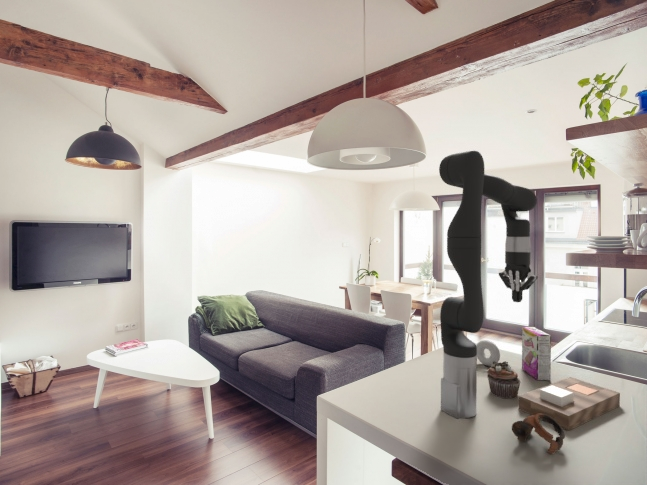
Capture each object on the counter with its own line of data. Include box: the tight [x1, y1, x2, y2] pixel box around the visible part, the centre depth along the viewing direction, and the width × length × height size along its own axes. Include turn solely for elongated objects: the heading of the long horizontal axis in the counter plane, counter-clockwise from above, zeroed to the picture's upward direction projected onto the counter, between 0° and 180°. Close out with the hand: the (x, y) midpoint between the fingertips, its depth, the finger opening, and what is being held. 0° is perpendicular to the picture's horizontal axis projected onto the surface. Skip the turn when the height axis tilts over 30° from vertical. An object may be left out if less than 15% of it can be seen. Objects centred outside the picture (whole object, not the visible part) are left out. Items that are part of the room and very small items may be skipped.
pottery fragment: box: [511, 413, 566, 455], centre depth 93 cm, size 12×10×8 cm
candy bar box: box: [521, 326, 552, 382], centre depth 137 cm, size 11×5×16 cm, turn 179°
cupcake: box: [486, 361, 522, 400], centre depth 122 cm, size 10×10×10 cm
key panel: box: [518, 376, 621, 431], centre depth 112 cm, size 28×14×4 cm, turn 119°
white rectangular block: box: [540, 385, 573, 407], centre depth 108 cm, size 6×6×3 cm
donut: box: [476, 339, 501, 367], centre depth 147 cm, size 10×4×10 cm, turn 34°
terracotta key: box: [567, 384, 598, 396], centre depth 115 cm, size 6×6×3 cm
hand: (517, 301), depth 126 cm, fingers closed
